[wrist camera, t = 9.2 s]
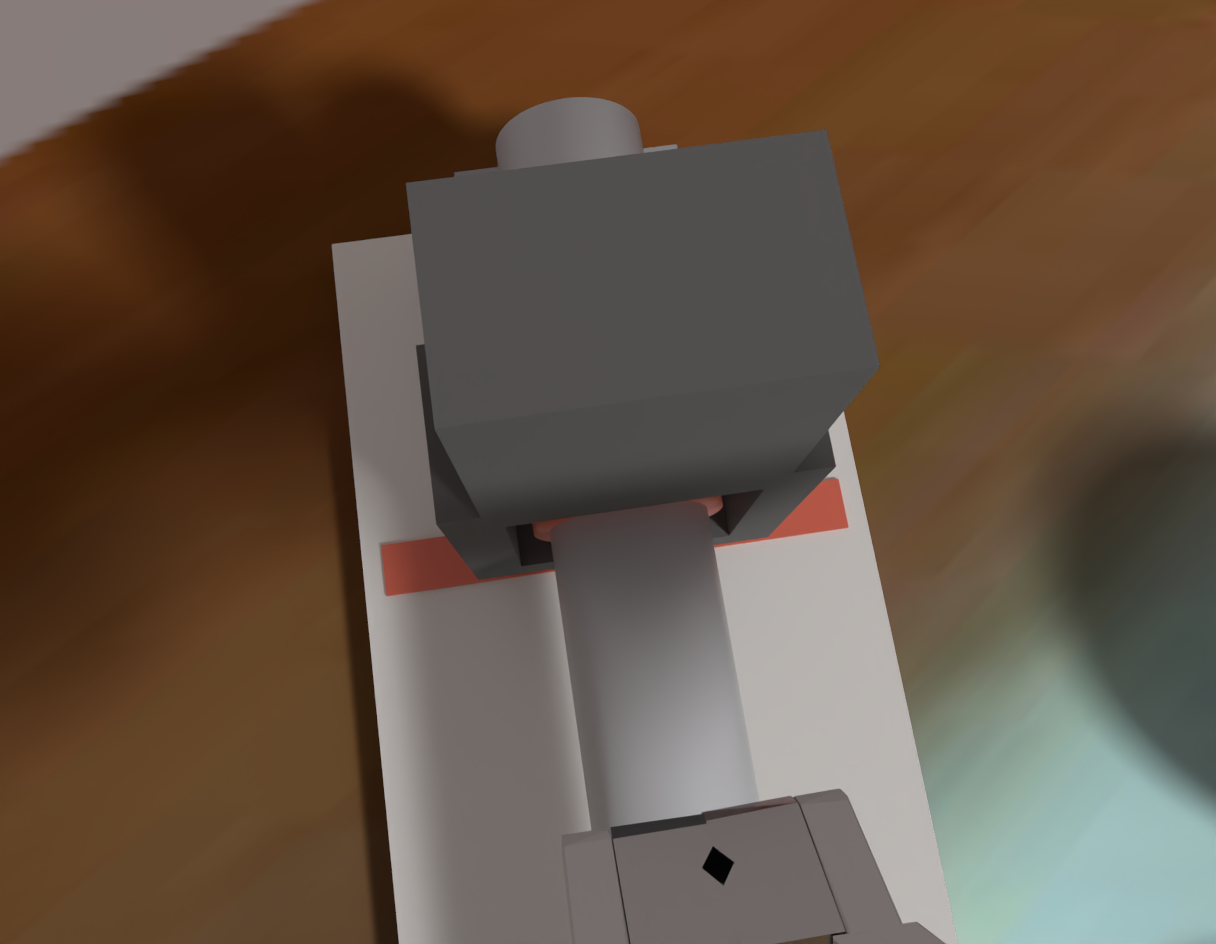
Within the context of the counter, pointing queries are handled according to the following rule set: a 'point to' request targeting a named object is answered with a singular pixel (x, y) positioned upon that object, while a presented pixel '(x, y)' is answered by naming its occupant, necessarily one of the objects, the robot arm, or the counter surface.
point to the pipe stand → (604, 645)
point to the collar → (634, 339)
